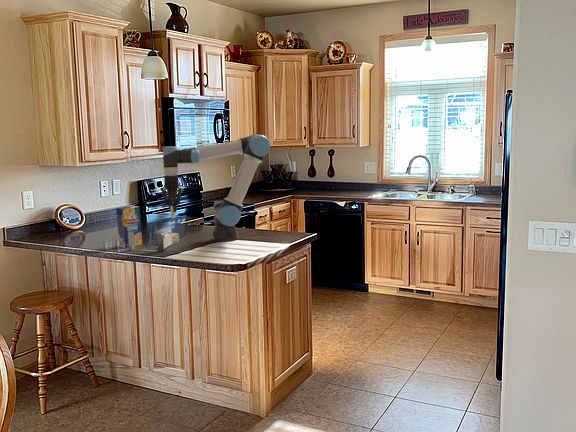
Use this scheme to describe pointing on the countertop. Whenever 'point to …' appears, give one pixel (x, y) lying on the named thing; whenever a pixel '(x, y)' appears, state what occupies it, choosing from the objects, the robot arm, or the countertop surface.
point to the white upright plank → (167, 239)
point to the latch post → (131, 241)
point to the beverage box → (129, 225)
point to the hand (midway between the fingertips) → (173, 217)
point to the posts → (160, 244)
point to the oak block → (174, 237)
